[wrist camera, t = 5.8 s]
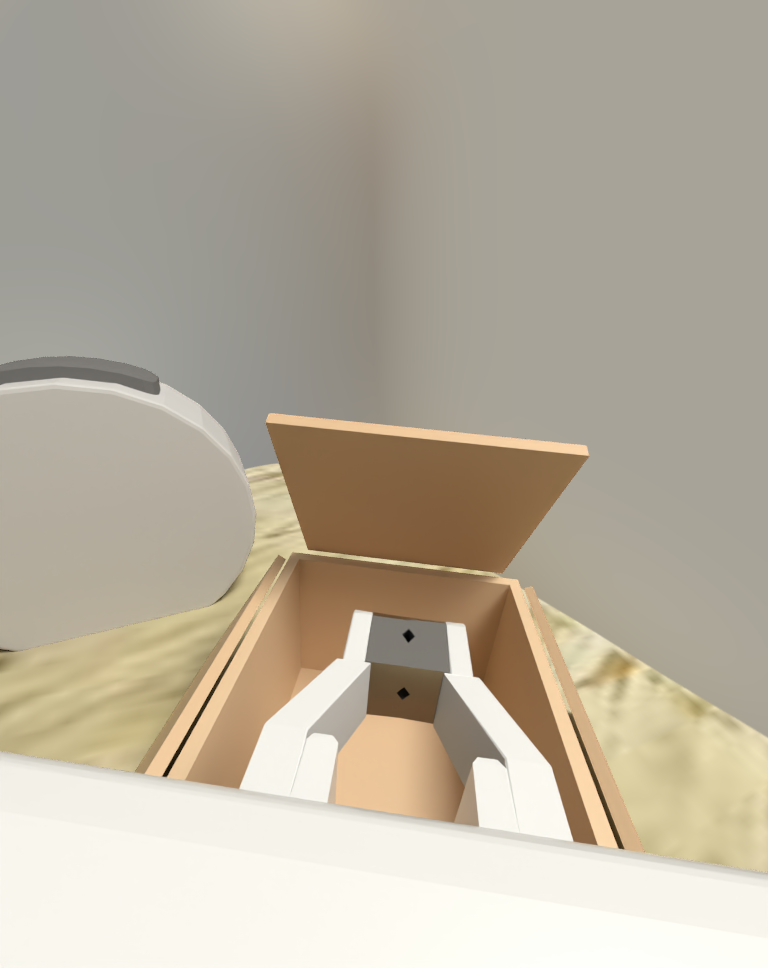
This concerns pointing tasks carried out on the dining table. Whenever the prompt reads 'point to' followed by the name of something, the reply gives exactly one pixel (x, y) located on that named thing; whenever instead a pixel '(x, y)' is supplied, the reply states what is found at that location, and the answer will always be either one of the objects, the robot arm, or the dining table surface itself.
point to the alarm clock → (111, 501)
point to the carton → (380, 739)
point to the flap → (418, 489)
